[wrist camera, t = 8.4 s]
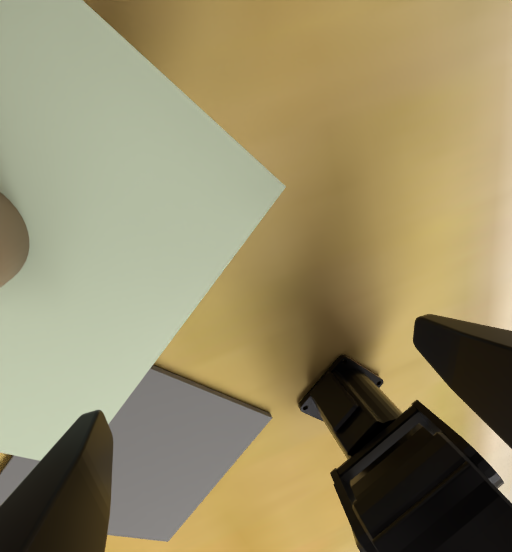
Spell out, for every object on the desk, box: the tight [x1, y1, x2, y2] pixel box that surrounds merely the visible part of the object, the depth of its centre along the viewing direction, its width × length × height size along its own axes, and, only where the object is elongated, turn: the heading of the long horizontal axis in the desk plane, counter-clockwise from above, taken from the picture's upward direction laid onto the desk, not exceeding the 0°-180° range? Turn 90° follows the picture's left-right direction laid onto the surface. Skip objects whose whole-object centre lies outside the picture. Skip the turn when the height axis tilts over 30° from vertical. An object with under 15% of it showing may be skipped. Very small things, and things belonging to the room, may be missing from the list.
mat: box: [0, 365, 272, 542], centre depth 23 cm, size 16×16×1 cm
